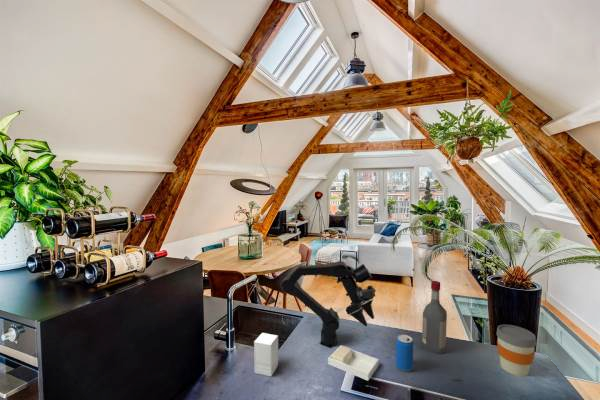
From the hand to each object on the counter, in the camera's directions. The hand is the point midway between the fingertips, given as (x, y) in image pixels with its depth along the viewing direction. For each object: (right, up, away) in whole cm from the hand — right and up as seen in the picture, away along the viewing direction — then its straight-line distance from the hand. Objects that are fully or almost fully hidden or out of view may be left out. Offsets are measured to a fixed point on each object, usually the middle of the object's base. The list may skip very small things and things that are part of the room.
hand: (370, 322), depth 122 cm
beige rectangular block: (-12, -14, -4) cm, 19 cm away
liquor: (+30, -14, +6) cm, 34 cm away
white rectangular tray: (-9, -15, -7) cm, 18 cm away
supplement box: (-43, -15, -9) cm, 47 cm away
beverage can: (+12, -15, -8) cm, 21 cm away
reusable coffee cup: (+56, -15, -8) cm, 58 cm away
